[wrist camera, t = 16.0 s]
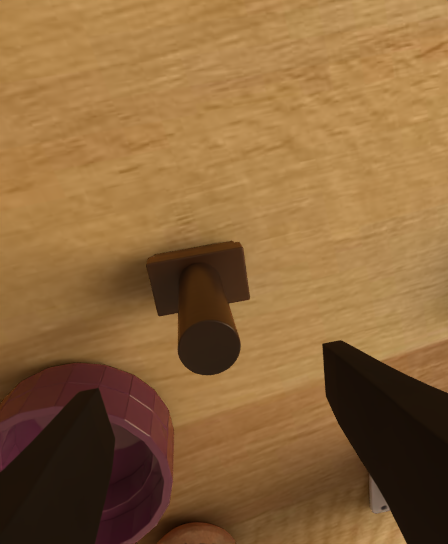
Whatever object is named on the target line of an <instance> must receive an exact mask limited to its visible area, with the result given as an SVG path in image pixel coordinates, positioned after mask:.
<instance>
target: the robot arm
mask: <svg viewBox="0 0 448 544" xmlns="http://www.w3.org/2000/svg"><path fill="white" fill-rule="evenodd" d="M322 345H323V360H324V375H325V390H326V397H327V399H328V402H329V404H330V406H331V408H332V411H333V413H334V415H335V417H336V419H337V421H338V424H339V425H340V427H341V429H342V430H343V432H344V434H345V435H346V437H347V438H348V440H349V442H350V443H351V445H352V447H353V448H354V450H355V451H356V453H357V455H358V456H359V458H360V460H361V461H362V463H363V464H364V466H365V468H366V469H367V471H368V472H369V492H370V509H371V510H372V512H373V513H381V512H386V511H390V510H391V512H392V514H393V516H394V518H395V520H396V522H397V524H398V526H399V528H400V530H401V532H402V534H403V536H404V538H405V541H406V543H407V544H448V393H447V392H444V391H441V390H439V389H437V388H434V387H432V386H429V385H427V384H425V383H423V382H421V381H419V380H416V379H414V378H412V377H410V376H408V375H406V374H404V373H402V372H400V371H398V370H396V369H394V368H392V367H390V366H388V365H386V364H384V363H382V362H380V361H378V360H377V359H375V358H373V357H371V356H369V355H367V354H366V353H364V352H362V351H360V350H358V349H357V348H355V347H353V346H351V345H349V344H347V343H345V342H343V341H341V340H339V341H334V342H329V343H324V344H322ZM114 448H115V436H114V433H113V430H112V427H111V424H110V421H109V418H108V415H107V411H106V408H105V405H104V402H103V399H102V396H101V393H100V390H99V388H94V389H89V390H84V391H79V392H78V393H77V394H76V395H75V396H74V397H73V398H72V399H71V400H70V401H69V402H68V403H67V404H66V405H65V407H64V408H63V409H62V410H61V411H60V412H59V413H58V414H57V415H56V416H55V417H54V418H53V420H52V421H51V422H50V423H49V424H48V425H47V426H46V427H45V428H44V429H43V430H42V431H41V432H40V433H39V434H38V435H37V437H36V438H35V439H34V440H33V441H32V442H31V443H30V444H29V445H28V446H27V447H26V448H25V449H24V450H23V451H22V452H21V453H20V454H19V455H18V456H17V457H16V458H15V459H14V460H12V461H11V462H10V463H9V464H8V465H7V466H6V467H5V468H4V469H3V470H2V471H1V472H0V544H95V541H96V537H97V533H98V529H99V525H100V520H101V516H102V512H103V508H104V504H105V499H106V495H107V491H108V487H109V482H110V478H111V473H112V466H113V458H114Z"/></svg>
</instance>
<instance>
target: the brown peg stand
mask: <svg viewBox="0 0 448 544" xmlns="http://www.w3.org/2000/svg"><path fill="white" fill-rule="evenodd" d="M146 266H147V271H148V275H149V279H150V283H151V288H152V292H153V296H154V300H155V305H156V309H157V313H158V316H164V315H169V314H175V313H178V355H179V358H180V360H181V362H182V363H183V364H184V366H185V367H186V368H188V369H189V370H190V371H192V372H194V373H197V374H200V375H215V374H219V373H221V372H223V371H225V370H227V369H228V368H230V367H231V366H232V365H233V364H234V362H235V361H236V360H237V358H238V356H239V353H240V347H241V345H240V339H239V335H238V332H237V329H236V326H235V323H234V319H233V316H232V313H231V310H230V307H229V303H234V302H239V301H244V300H249V299H250V295H249V287H248V280H247V273H246V265H245V258H244V251H243V247H242V246H241V244H240V242H235V243H234V242H233V241H228V242H223V243H217V244H211V245H206V246H200V247H194V248H189V249H183V250H177V251H172V252H166V253H160V254H155V255H154V257H150V258H148V261H147V264H146Z"/></svg>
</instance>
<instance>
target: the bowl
mask: <svg viewBox="0 0 448 544" xmlns="http://www.w3.org/2000/svg"><path fill="white" fill-rule="evenodd" d="M94 388H99V390H100V393H101V396H102V399H103V402H104V405H105V408H106V411H107V415H108V418H109V421H110V424H111V427H112V430H113V433H114V436H115V448H114V458H113V466H112V473H111V478H110V482H109V487H108V491H107V495H106V499H105V504H104V508H103V512H102V516H101V520H100V525H99V529H98V533H97V537H96V541H95V544H135V543H136V542H138V541H139V540H140V539H141V538H143V537H144V536H145V535H146V534H147V533H148V532H150V531H151V530H152V529H153V528H154V527H155V526H156V525H157V524H158V522H159V521H160V519H161V517H162V516H163V514H164V512H165V511H166V509H167V507H168V506H169V503H170V497H171V491H172V484H173V456H174V455H173V454H174V429H173V425H172V421H171V417H170V413H169V410H168V408H167V407H166V405H165V404H164V403H163V401H162V400H161V398H160V397H159V396H158V394H157V393H156V391H155V390H154V389H153V388H151V387H150V386H149V385H147V384H146V383H145V382H143V381H142V380H140V379H139V378H138V377H136V376H135V375H132V374H130V373H127V372H124V371H121V370H118V369H116V368H113V367H110V366H106V365H101V364H88V363H71V364H66V365H61V366H55V367H50V368H46V369H44V370H42V371H40V372H38V373H36V374H34V375H33V376H31V377H29V378H27V379H25V380H23V381H21V382H20V383H19V384H18V385H17V386H16V387H15V388H14V389H13V390H12V391H11V392H10V393H9V394H8V395H7V396H6V397H5V398H4V399H3V400H2V402H1V403H0V472H1V471H2V470H3V469H4V468H5V467H6V466H7V465H8V464H9V463H10V462H11V461H12V460H14V459H15V458H16V457H17V456H18V455H19V454H20V453H21V452H22V451H23V450H24V449H25V448H26V447H27V446H28V445H29V444H30V443H31V442H32V441H33V440H34V439H35V438H36V437H37V435H38V434H39V433H40V432H41V431H42V430H43V429H44V428H45V427H46V426H47V425H48V424H49V423H50V422H51V421H52V420H53V418H54V417H55V416H56V415H57V414H58V413H59V412H60V411H61V410H62V409H63V408H64V407H65V405H66V404H67V403H68V402H69V401H70V400H71V399H72V398H73V397H74V396H75V395H76V394H77V393H78V392H79V391H84V390H89V389H94Z"/></svg>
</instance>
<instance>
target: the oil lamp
mask: <svg viewBox="0 0 448 544" xmlns="http://www.w3.org/2000/svg"><path fill="white" fill-rule="evenodd" d="M156 544H236V542H235V540H234V538H233V537H232V536H231V535H230V534H229V533H228V532H227V531H225V530H224V529H222V528H220V527H218V526H215V525H212V524H208V523H200V522H193V523H187V524H184V525H181V526H178V527H176V528H174V529H173V530H171V531H170V532H168V533H167V534H166V535H165V536H163V537H162V538H161V539H160V540H159V541H158V542H157V543H156Z"/></svg>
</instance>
